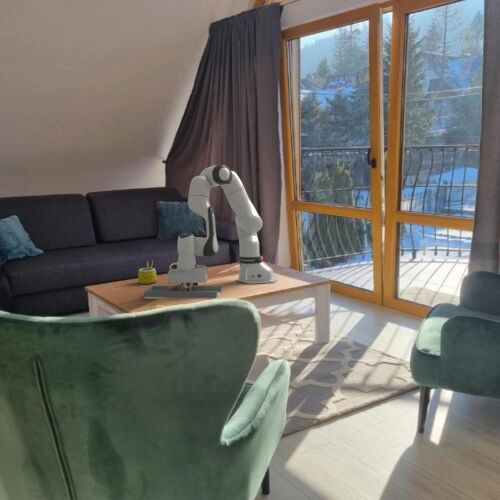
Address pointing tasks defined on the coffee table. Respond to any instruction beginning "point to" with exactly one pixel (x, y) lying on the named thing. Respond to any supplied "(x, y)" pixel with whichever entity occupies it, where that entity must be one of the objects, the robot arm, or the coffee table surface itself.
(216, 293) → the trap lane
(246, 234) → the robot arm
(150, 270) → the mug
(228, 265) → the coffee table surface
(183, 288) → the walnut block
